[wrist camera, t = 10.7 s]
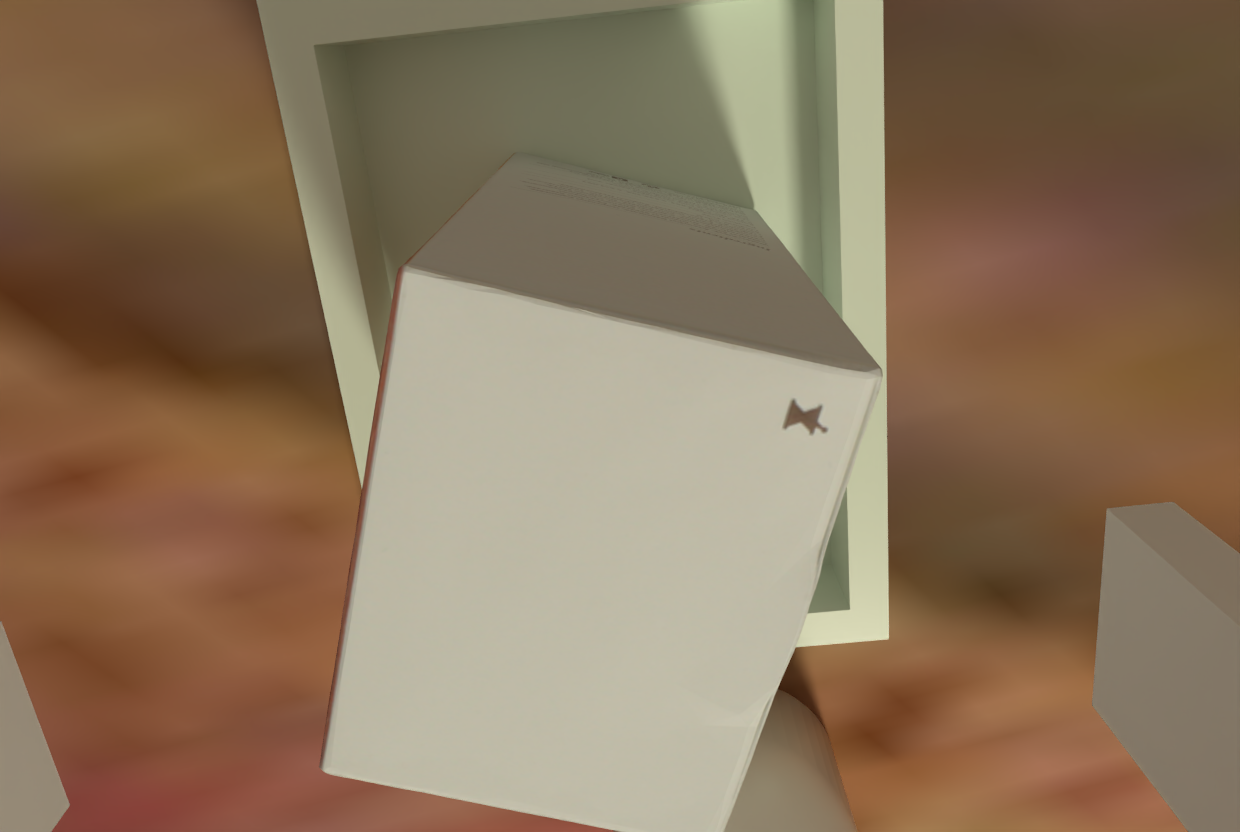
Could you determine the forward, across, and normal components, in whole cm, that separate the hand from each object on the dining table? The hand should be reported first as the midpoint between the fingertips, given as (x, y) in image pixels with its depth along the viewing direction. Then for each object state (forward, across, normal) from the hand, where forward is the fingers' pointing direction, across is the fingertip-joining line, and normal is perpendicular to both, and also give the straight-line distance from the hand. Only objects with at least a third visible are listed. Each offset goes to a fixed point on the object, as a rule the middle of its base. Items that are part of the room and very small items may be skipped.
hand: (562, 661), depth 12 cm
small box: (+15, 0, 0) cm, 15 cm away
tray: (+15, +1, 0) cm, 15 cm away
